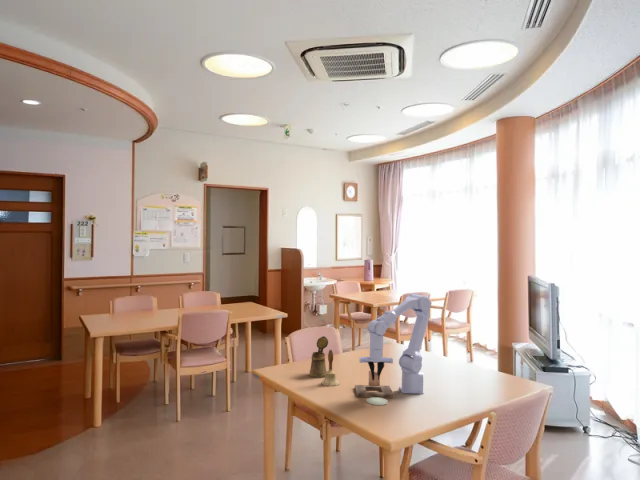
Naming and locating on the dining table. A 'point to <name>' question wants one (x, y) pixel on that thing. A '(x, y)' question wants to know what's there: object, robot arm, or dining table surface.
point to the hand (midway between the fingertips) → (375, 379)
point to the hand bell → (330, 373)
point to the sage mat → (377, 401)
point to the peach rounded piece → (375, 381)
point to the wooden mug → (319, 359)
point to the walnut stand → (384, 393)
